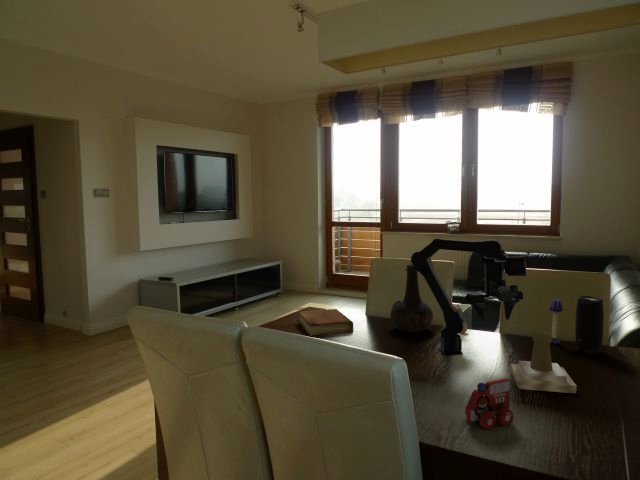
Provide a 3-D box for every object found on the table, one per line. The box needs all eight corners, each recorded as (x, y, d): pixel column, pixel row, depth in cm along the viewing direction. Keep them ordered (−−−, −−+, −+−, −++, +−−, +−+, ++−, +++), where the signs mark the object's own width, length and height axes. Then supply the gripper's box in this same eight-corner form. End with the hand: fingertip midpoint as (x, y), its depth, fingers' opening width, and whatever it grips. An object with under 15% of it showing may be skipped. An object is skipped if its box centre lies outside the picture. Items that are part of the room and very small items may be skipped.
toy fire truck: (458, 420, 113) (458, 379, 112) (499, 411, 117) (499, 372, 116) (476, 433, 106) (477, 389, 106) (519, 424, 110) (519, 382, 110)
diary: (353, 334, 191) (353, 320, 191) (310, 338, 187) (309, 324, 186) (338, 320, 213) (337, 308, 213) (299, 323, 209) (298, 311, 208)
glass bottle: (401, 322, 206) (401, 261, 204) (439, 328, 196) (439, 263, 194) (382, 331, 192) (382, 266, 190) (422, 338, 181) (423, 269, 179)
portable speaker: (582, 355, 159) (584, 300, 157) (569, 347, 168) (571, 294, 166) (608, 355, 158) (609, 300, 156) (594, 347, 167) (595, 294, 166)
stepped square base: (518, 388, 131) (518, 375, 131) (510, 370, 146) (511, 358, 145) (576, 393, 127) (576, 379, 127) (562, 374, 142) (562, 361, 141)
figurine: (471, 335, 185) (471, 306, 184) (456, 335, 184) (456, 306, 183) (463, 329, 193) (463, 301, 192) (449, 330, 192) (449, 302, 192)
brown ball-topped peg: (555, 368, 136) (556, 332, 135) (547, 373, 132) (548, 336, 131) (535, 363, 140) (536, 328, 140) (526, 367, 136) (527, 331, 136)
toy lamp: (558, 341, 175) (559, 298, 174) (564, 345, 170) (565, 301, 169) (545, 341, 175) (546, 298, 174) (550, 344, 171) (551, 301, 169)
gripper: (480, 281, 146) (482, 329, 147) (533, 277, 150) (534, 323, 151) (464, 277, 157) (465, 321, 158) (513, 273, 161) (514, 316, 161)
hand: (495, 320), depth 157 cm, fingers open, 9 cm apart
